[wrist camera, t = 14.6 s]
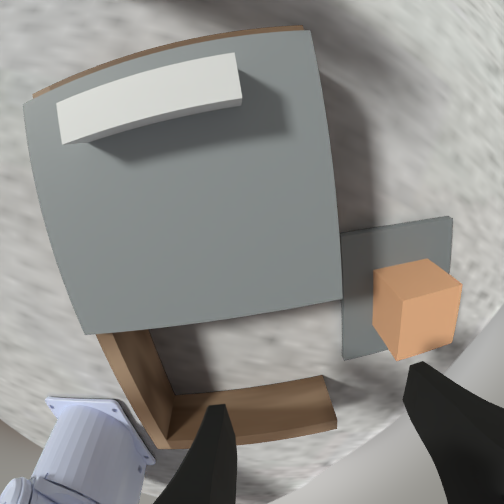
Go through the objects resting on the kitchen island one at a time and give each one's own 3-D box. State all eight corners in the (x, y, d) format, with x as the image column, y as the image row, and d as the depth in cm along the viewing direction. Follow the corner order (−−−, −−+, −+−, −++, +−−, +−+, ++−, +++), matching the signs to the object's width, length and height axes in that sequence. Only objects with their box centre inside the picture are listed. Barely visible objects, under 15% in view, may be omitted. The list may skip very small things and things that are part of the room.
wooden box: (322, 384, 22) (337, 428, 18) (166, 404, 22) (157, 448, 18) (285, 52, 14) (302, 25, 10) (75, 101, 14) (32, 93, 10)
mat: (436, 329, 21) (440, 333, 20) (342, 355, 21) (344, 360, 20) (447, 215, 18) (452, 218, 17) (337, 233, 18) (340, 236, 17)
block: (422, 311, 19) (452, 342, 16) (372, 324, 19) (396, 361, 16) (427, 258, 18) (462, 284, 14) (373, 269, 18) (402, 300, 14)
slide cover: (338, 292, 14) (357, 323, 11) (89, 328, 14) (69, 359, 11) (306, 34, 10) (323, 11, 8) (30, 104, 10) (-6, 102, 8)
